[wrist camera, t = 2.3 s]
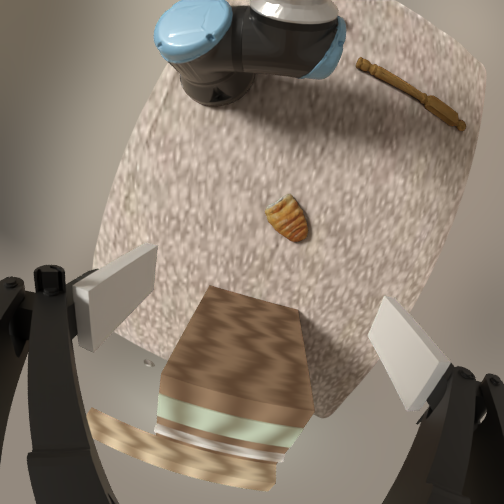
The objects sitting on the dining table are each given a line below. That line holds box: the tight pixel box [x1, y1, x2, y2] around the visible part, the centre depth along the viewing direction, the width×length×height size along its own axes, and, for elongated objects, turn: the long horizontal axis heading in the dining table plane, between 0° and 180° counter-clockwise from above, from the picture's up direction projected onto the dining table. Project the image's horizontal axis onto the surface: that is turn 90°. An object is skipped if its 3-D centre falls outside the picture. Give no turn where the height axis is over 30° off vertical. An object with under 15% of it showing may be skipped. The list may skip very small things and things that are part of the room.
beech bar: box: [86, 408, 276, 491], centre depth 33 cm, size 32×4×4 cm, turn 74°
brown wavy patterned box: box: [154, 286, 315, 465], centre depth 47 cm, size 20×24×31 cm
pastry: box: [265, 194, 308, 242], centre depth 52 cm, size 9×7×4 cm
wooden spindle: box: [356, 57, 466, 131], centre depth 43 cm, size 3×3×30 cm
